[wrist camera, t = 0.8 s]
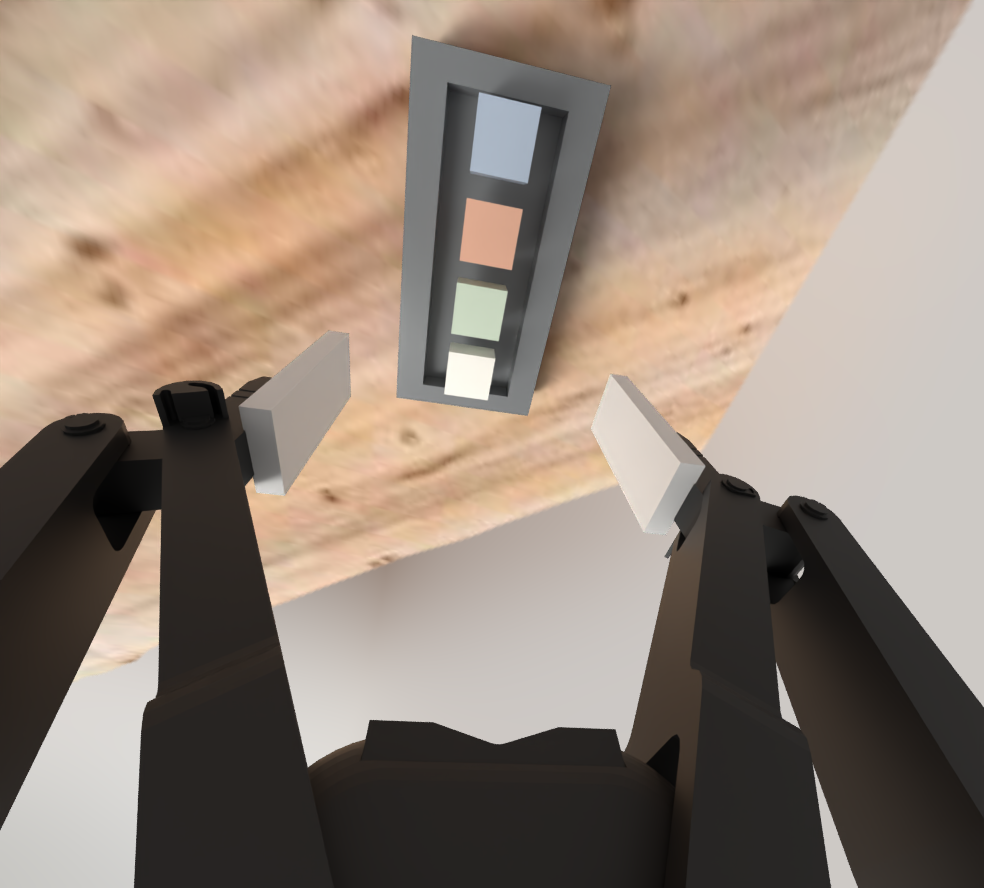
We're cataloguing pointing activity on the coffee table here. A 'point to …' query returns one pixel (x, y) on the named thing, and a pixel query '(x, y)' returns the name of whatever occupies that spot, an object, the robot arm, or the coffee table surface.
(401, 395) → the gray rectangular tray
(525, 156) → the key
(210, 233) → the coffee table surface
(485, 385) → the key
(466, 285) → the key
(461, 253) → the key
